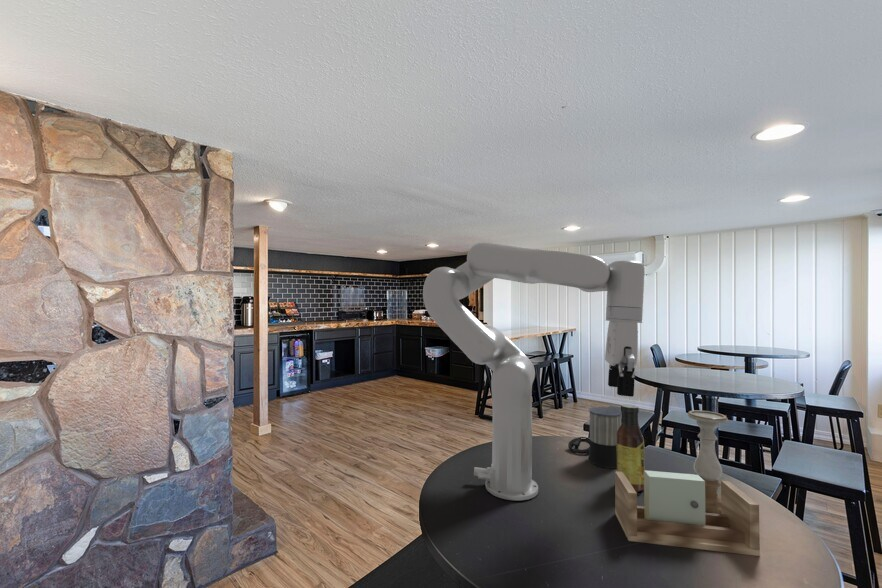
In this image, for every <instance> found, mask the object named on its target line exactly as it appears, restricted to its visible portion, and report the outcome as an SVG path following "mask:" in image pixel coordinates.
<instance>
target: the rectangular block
mask: <svg viewBox="0 0 882 588" xmlns="http://www.w3.org/2000/svg"><path fill="white" fill-rule="evenodd" d="M643 494H644V495H643V497H644V498H643V499H644V501H643V505H644V519H648V520H657V521H667V522H676V523H685V524H695V525H704V526H705V513H706V511H705V481H704V480H703V479H702V478H701V477H700V476H699V475H697V474H692V473H680V472H667V471H656V470H646V469H645V470H644V489H643Z"/></svg>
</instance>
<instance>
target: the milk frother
mask: <svg viewBox="0 0 882 588" xmlns="http://www.w3.org/2000/svg"><path fill="white" fill-rule="evenodd" d="M588 411H589V437H587V436H586V437H584V436H578V437H575V438H572V439H570V440H569V442H568V443H567V444H568V449H569V450H570V451H571V452H573V453H575V454H581V455H585V454H589V456H588V461H589V462H590V463H591V464H593V465H595V466H597V467H600V468H607V469H617V431H618V429H619V427H620V426H621V424H622V422H621V420H622V412H621V410H619V409H616V408H612V407H605V406H594V407H592V406H591V407H590V408H588ZM581 438H586V439H581ZM582 442H583V443H587V444H588V445H589V447H588V448H586V449H580V445H581V443H582Z"/></svg>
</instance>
